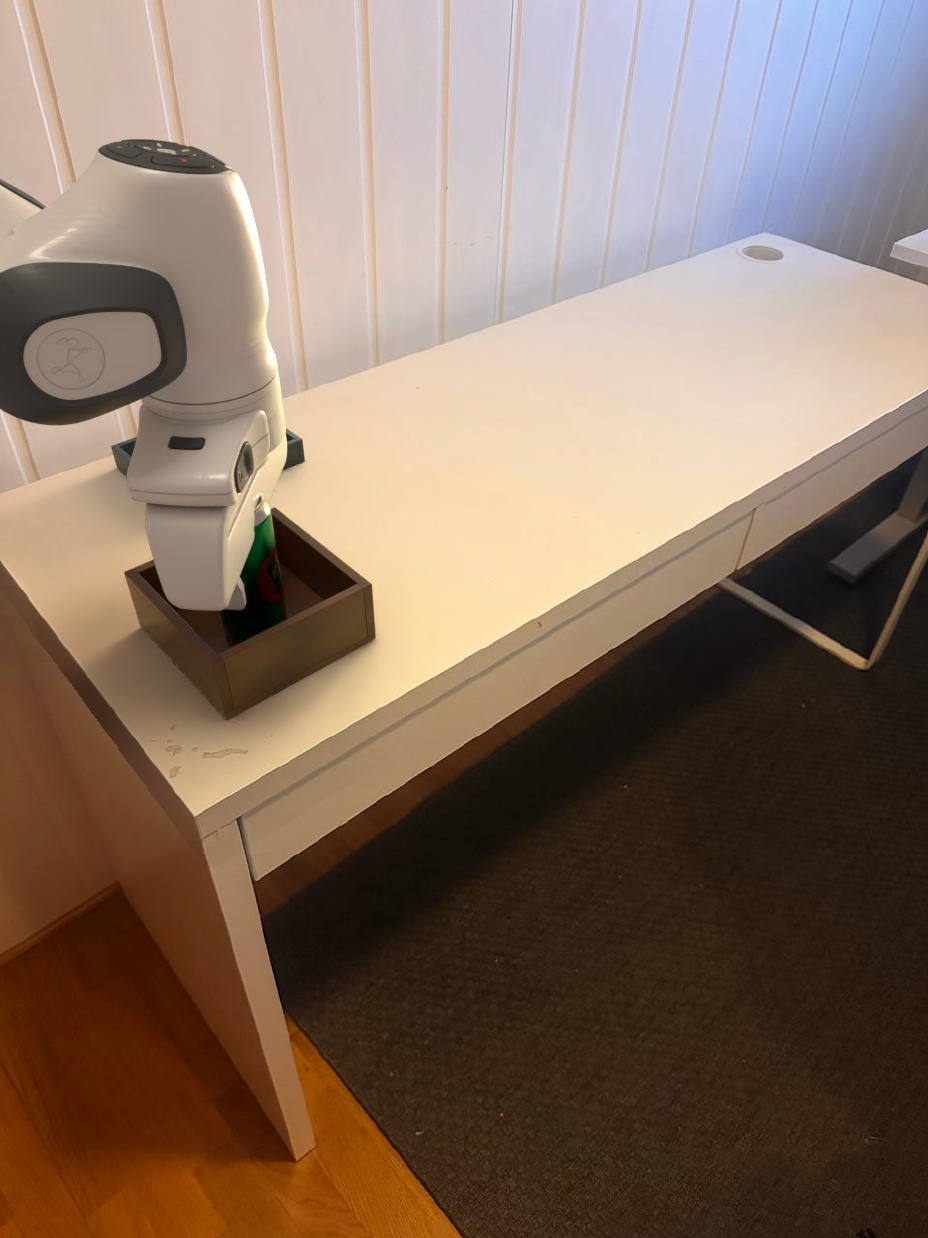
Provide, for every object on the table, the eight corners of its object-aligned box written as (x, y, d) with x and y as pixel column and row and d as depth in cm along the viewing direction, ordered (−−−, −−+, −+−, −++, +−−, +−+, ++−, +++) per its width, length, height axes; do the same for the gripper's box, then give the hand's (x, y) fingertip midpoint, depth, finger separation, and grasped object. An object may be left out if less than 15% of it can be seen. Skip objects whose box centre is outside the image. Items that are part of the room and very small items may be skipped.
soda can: (212, 623, 72) (183, 498, 64) (267, 597, 74) (245, 473, 66) (244, 657, 69) (218, 530, 61) (300, 629, 71) (282, 503, 63)
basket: (226, 721, 65) (212, 665, 61) (140, 626, 72) (123, 571, 69) (376, 638, 72) (372, 583, 68) (283, 559, 79) (274, 506, 75)
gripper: (211, 343, 67) (239, 498, 76) (114, 495, 52) (164, 666, 61) (295, 347, 67) (313, 502, 76) (222, 500, 51) (256, 671, 60)
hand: (246, 576), depth 68 cm, fingers closed on soda can, 5 cm apart
